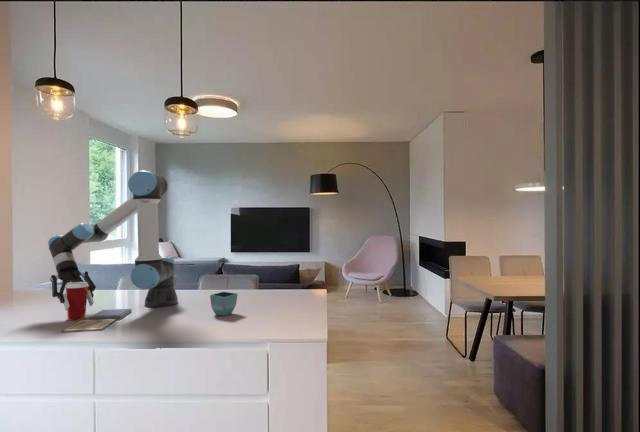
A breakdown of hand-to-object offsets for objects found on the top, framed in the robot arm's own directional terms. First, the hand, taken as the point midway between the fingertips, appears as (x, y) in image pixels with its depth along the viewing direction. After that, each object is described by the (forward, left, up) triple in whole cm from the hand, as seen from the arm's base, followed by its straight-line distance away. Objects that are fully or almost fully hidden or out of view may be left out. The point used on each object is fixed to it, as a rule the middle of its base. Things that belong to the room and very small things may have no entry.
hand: (80, 306), depth 142 cm
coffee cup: (+2, -2, -6) cm, 7 cm away
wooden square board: (-9, +10, -6) cm, 14 cm away
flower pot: (-59, +1, -6) cm, 59 cm away
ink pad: (-11, -4, -6) cm, 13 cm away
